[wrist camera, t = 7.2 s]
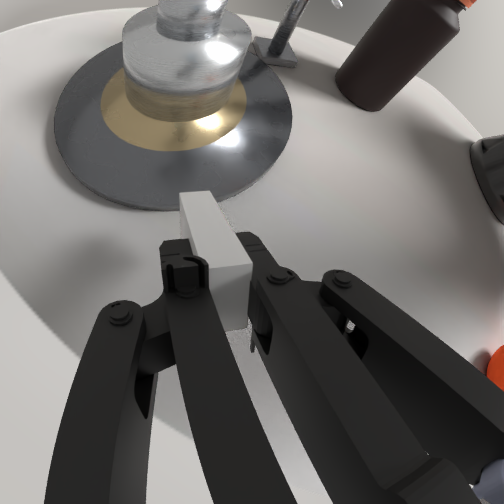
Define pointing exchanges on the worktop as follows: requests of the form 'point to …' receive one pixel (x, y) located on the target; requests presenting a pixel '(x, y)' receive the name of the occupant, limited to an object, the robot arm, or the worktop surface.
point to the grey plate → (169, 137)
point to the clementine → (497, 368)
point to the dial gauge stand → (283, 37)
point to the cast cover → (183, 58)
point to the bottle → (397, 49)
